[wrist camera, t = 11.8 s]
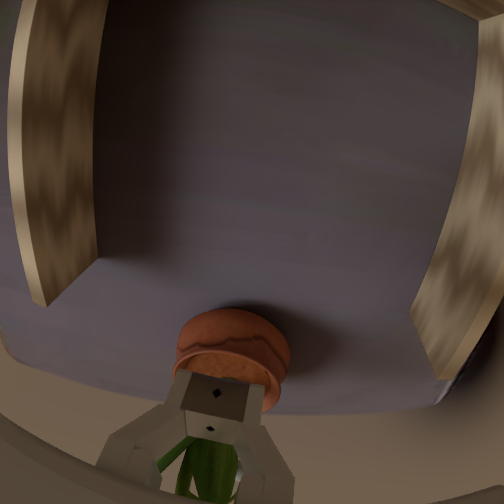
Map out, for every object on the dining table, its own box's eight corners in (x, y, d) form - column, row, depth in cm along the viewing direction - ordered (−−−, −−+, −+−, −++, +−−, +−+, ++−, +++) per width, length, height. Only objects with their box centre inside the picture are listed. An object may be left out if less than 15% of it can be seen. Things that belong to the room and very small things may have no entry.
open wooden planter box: (105, -40, 14) (46, -69, 6) (493, 15, 12) (554, -2, 5) (85, 254, 26) (33, 302, 19) (422, 314, 24) (452, 379, 17)
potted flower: (329, 335, 26) (336, 636, 4) (275, 394, 31) (247, 620, 8) (205, 278, 25) (71, 608, 3) (171, 351, 30) (79, 581, 7)
